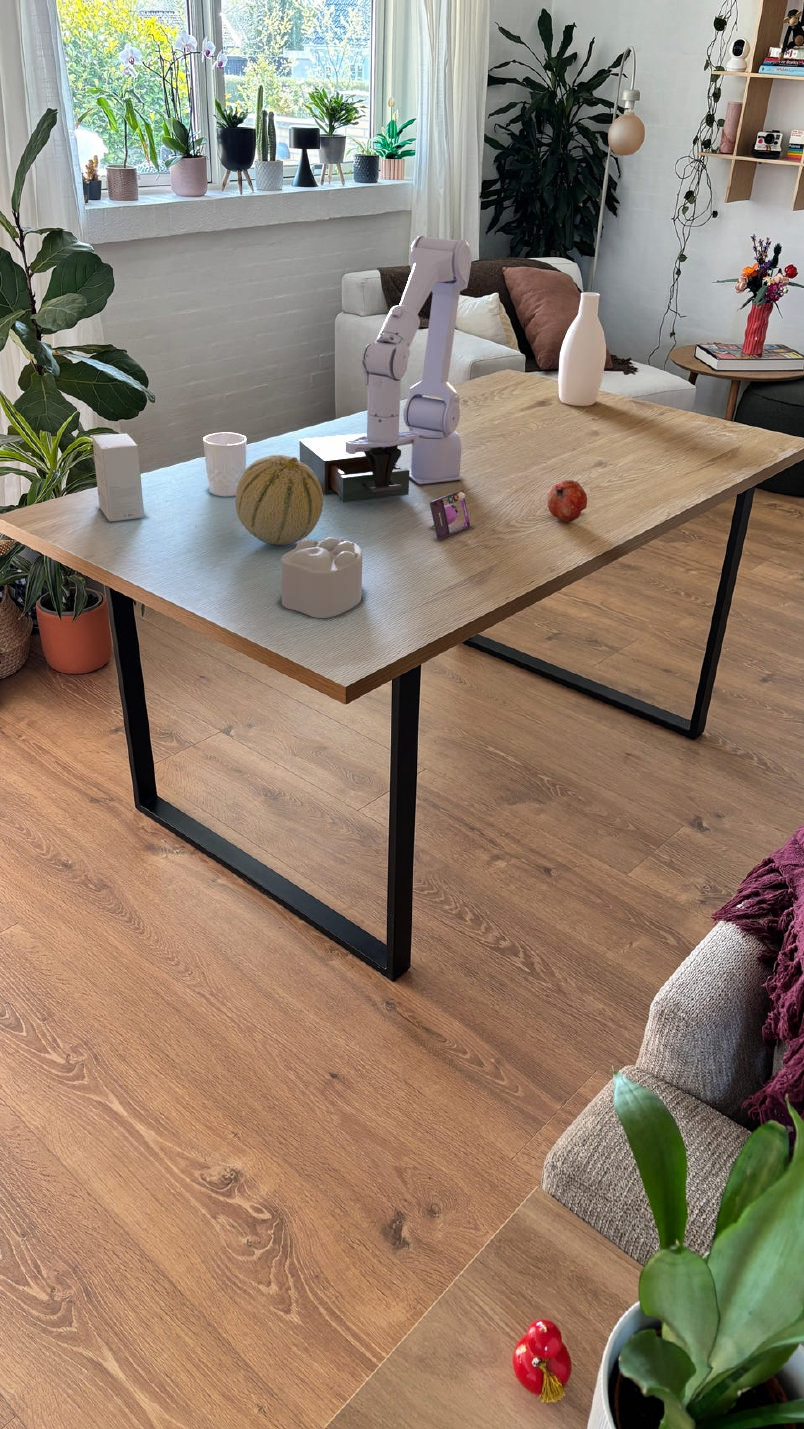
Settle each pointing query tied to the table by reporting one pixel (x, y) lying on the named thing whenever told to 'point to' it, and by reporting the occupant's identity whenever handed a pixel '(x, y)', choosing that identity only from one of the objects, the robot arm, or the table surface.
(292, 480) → the cantaloupe
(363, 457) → the cabinet
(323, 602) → the lumpy-topped squat cylinder
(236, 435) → the white cup
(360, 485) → the drawer
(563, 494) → the pomegranate
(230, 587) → the table surface
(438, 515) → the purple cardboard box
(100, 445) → the small box
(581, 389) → the bottle
